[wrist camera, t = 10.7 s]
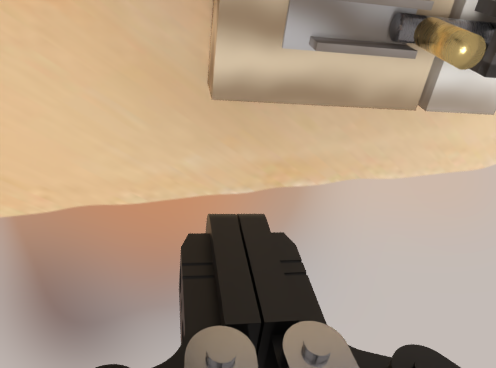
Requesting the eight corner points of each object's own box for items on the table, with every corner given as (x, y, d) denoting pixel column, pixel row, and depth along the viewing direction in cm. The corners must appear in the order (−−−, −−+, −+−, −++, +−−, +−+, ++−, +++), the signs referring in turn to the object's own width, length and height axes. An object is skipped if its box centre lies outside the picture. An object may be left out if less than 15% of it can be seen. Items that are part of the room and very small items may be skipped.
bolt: (395, 8, 31) (447, 31, 26) (510, 21, 33) (582, 44, 28) (386, 39, 32) (434, 67, 27) (498, 49, 35) (565, 77, 29)
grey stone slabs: (221, -113, 29) (238, -118, 23) (535, -64, 35) (622, -57, 28) (207, 82, 37) (216, 120, 30) (467, 98, 42) (524, 134, 35)
